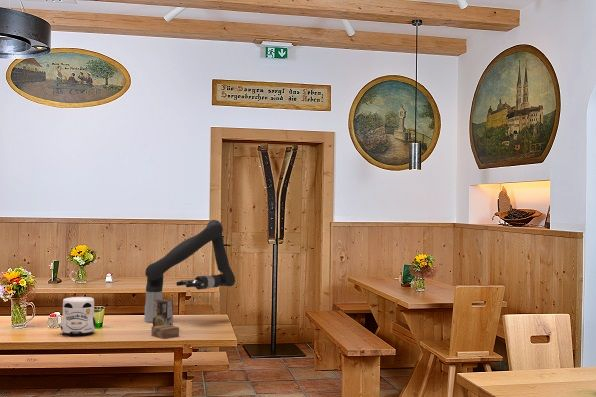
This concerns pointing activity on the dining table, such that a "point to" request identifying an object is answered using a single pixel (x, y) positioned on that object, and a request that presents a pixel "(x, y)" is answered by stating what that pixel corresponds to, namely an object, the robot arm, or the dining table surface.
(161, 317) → the coffee box
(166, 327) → the walnut block
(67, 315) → the milk container
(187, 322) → the dining table surface
